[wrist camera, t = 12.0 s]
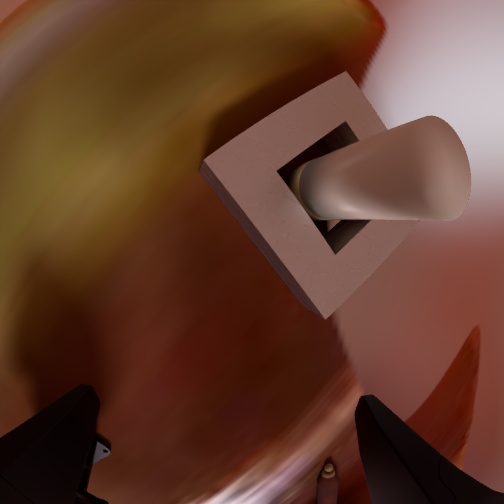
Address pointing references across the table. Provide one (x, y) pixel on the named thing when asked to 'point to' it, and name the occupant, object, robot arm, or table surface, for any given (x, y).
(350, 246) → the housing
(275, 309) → the table surface
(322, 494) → the gavel
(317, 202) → the white tall rounded piece
